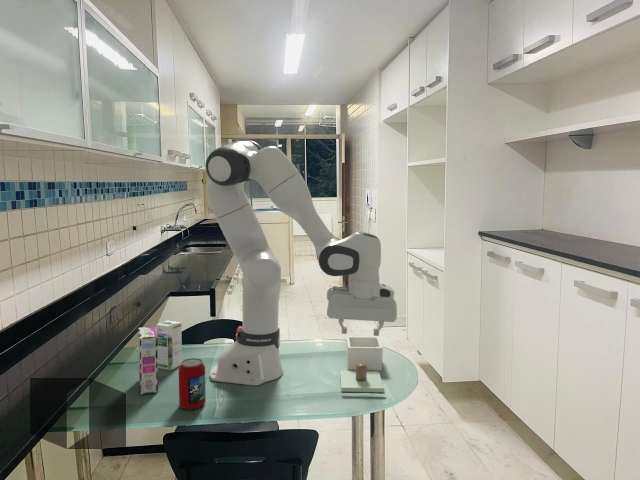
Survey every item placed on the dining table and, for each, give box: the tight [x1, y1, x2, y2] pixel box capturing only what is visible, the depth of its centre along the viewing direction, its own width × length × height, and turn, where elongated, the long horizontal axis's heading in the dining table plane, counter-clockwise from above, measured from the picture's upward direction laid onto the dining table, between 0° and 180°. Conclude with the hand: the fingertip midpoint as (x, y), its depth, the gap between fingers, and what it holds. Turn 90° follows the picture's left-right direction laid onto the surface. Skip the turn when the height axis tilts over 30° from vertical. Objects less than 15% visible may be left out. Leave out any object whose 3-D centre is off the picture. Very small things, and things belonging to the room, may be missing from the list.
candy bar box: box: [137, 325, 159, 396], centre depth 132 cm, size 11×5×16 cm, turn 23°
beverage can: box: [178, 357, 206, 411], centre depth 121 cm, size 7×7×12 cm
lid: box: [339, 363, 385, 393], centre depth 135 cm, size 12×12×7 cm
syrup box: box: [155, 320, 183, 372], centre depth 147 cm, size 6×6×14 cm
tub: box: [345, 335, 384, 371], centre depth 150 cm, size 11×11×8 cm
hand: (360, 334), depth 133 cm, fingers open, 8 cm apart
